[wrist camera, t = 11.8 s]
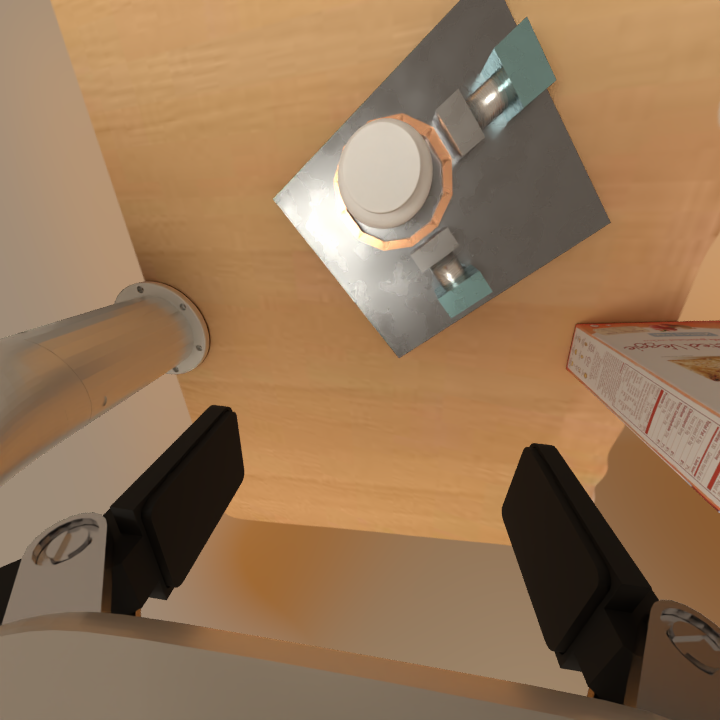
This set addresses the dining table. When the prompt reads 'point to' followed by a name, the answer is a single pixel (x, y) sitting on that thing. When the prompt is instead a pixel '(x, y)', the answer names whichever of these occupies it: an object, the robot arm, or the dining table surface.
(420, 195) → the supplement bottle
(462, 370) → the dining table surface
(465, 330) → the dining table surface
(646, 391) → the cracker box
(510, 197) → the base
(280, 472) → the dining table surface
